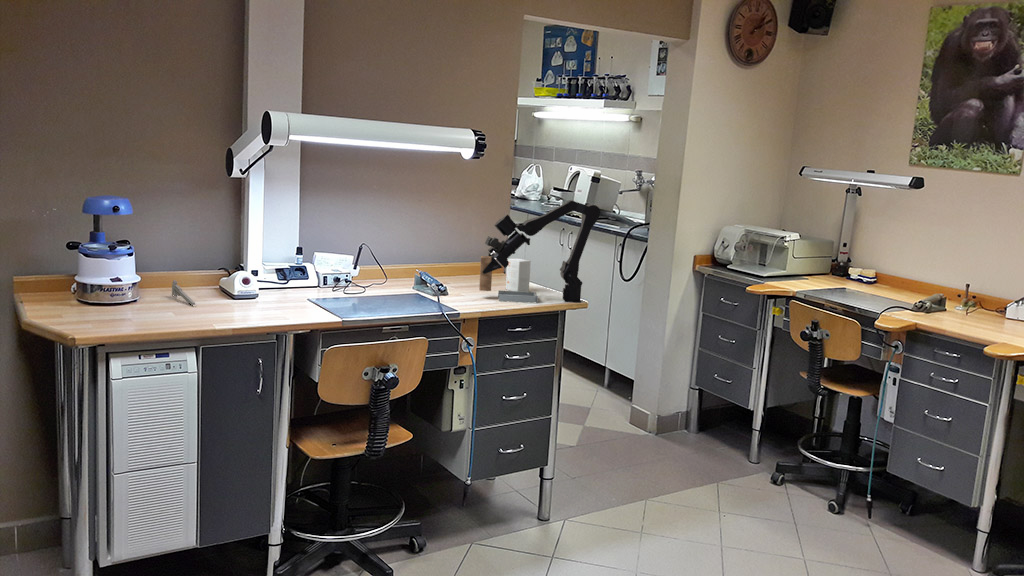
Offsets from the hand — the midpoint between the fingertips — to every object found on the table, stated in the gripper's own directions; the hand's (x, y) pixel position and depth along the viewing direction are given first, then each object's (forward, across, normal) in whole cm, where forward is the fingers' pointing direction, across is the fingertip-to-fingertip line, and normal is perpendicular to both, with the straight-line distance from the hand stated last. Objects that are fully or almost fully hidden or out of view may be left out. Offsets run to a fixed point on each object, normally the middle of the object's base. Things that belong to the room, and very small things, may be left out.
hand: (482, 271), depth 326 cm
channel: (-3, +2, +18) cm, 18 cm away
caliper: (+83, +18, -69) cm, 109 cm away
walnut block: (+4, 0, +6) cm, 7 cm away
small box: (-5, -18, +20) cm, 28 cm away
